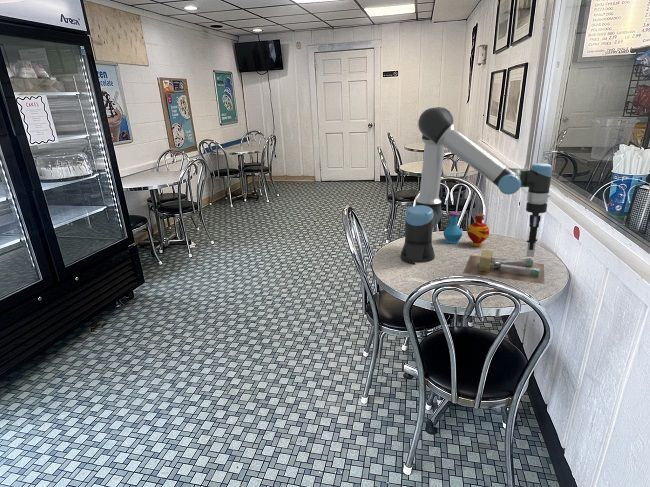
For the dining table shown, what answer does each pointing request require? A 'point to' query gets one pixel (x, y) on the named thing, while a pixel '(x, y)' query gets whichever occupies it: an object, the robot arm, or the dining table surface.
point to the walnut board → (473, 269)
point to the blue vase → (453, 229)
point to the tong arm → (514, 262)
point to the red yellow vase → (478, 231)
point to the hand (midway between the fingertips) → (530, 256)
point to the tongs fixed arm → (515, 269)
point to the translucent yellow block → (485, 260)
